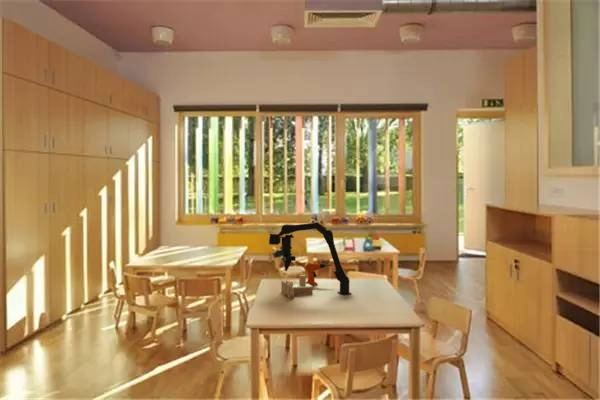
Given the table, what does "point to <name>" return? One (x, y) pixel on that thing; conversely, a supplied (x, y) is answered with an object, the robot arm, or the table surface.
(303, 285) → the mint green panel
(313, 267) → the toy drill
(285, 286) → the tan wooden t-shaped piece
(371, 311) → the table surface
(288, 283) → the tan rectangular block
